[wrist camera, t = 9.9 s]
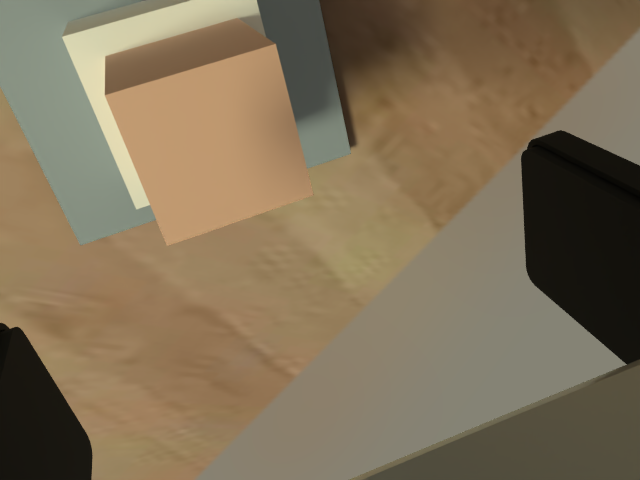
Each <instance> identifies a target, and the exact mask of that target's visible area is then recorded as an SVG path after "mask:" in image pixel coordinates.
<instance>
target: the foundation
mask: <svg viewBox="0 0 640 480" xmlns="http://www.w3.org/2000/svg"><path fill="white" fill-rule="evenodd" d="M235 18H238V19H240V20H241V21H243V22H244V23H246V24H247V25H249V26H250V27H252V28H253V29H254V30H256V31H257V32H259V33H260V34H262V35H263V36H265V37H266V38H268V39H269V40H271V41H272V42H274V43H275V44H276V47H277V51H278V55H279V59H280V63H281V67H282V71H283V75H284V79H285V83H286V87H287V91H288V95H289V99H290V103H291V107H292V111H293V115H294V118H295V122H296V126H297V130H298V134H299V138H300V142H301V146H302V150H303V154H304V158H305V162H306V166H307V168H310V167H313V166H316V165H319V164H322V163H325V162H328V161H331V160H334V159H337V158H340V157H343V156H346V155H349V154H351V151H350V147H349V142H348V137H347V132H346V127H345V123H344V118H343V113H342V108H341V103H340V98H339V94H338V89H337V84H336V79H335V74H334V69H333V65H332V60H331V55H330V50H329V45H328V40H327V36H326V31H325V26H324V21H323V16H322V11H321V7H320V2H319V0H0V87H1V89H2V91H3V93H4V95H5V97H6V99H7V101H8V103H9V105H10V107H11V109H12V111H13V113H14V115H15V117H16V118H17V120H18V122H19V124H20V126H21V128H22V130H23V132H24V134H25V136H26V138H27V140H28V142H29V144H30V146H31V148H32V150H33V152H34V154H35V156H36V158H37V160H38V162H39V164H40V166H41V168H42V170H43V172H44V174H45V176H46V178H47V180H48V182H49V184H50V186H51V188H52V190H53V192H54V194H55V196H56V198H57V200H58V202H59V204H60V206H61V208H62V210H63V212H64V214H65V216H66V218H67V220H68V222H69V224H70V226H71V227H72V229H73V231H74V233H75V235H76V237H77V239H78V241H79V243H80V245H83V244H86V243H89V242H92V241H95V240H98V239H101V238H104V237H107V236H110V235H113V234H116V233H119V232H121V231H124V230H127V229H130V228H133V227H136V226H139V225H142V224H145V223H148V222H151V221H154V220H156V218H155V215H154V213H153V211H152V208H151V206H150V203H149V201H148V198H147V196H146V194H145V191H144V189H143V186H142V184H141V182H140V179H139V177H138V174H137V172H136V170H135V167H134V165H133V162H132V160H131V158H130V155H129V153H128V150H127V148H126V145H125V143H124V141H123V138H122V136H121V133H120V131H119V129H118V126H117V124H116V121H115V119H114V117H113V114H112V112H111V109H110V107H109V105H108V102H107V100H106V97H105V56H108V55H111V54H115V53H118V52H122V51H125V50H128V49H132V48H135V47H139V46H142V45H146V44H149V43H153V42H156V41H159V40H163V39H166V38H170V37H173V36H177V35H180V34H184V33H187V32H190V31H194V30H197V29H201V28H204V27H208V26H211V25H215V24H218V23H222V22H225V21H228V20H232V19H235Z"/></svg>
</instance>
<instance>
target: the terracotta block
mask: <svg viewBox="0 0 640 480" xmlns="http://www.w3.org/2000/svg"><path fill="white" fill-rule="evenodd" d="M105 97H106V100H107V102H108V105H109V107H110V109H111V112H112V114H113V117H114V119H115V121H116V124H117V126H118V129H119V131H120V133H121V136H122V138H123V141H124V143H125V145H126V148H127V150H128V153H129V155H130V158H131V160H132V162H133V165H134V167H135V170H136V172H137V174H138V177H139V179H140V182H141V184H142V186H143V189H144V191H145V194H146V196H147V198H148V201H149V203H150V206H151V208H152V211H153V213H154V215H155V218H156V220H157V223H158V225H159V227H160V230H161V232H162V235H163V237H164V239H165V242H166V244H167V246H169V245H172V244H174V243H177V242H180V241H183V240H186V239H189V238H192V237H195V236H198V235H200V234H203V233H206V232H209V231H212V230H215V229H218V228H221V227H223V226H226V225H229V224H232V223H235V222H238V221H241V220H244V219H247V218H249V217H252V216H255V215H258V214H261V213H264V212H267V211H270V210H273V209H275V208H278V207H281V206H284V205H287V204H290V203H293V202H296V201H298V200H301V199H304V198H307V197H310V196H313V195H314V194H313V190H312V186H311V182H310V178H309V174H308V170H307V166H306V162H305V158H304V154H303V150H302V146H301V142H300V138H299V134H298V130H297V126H296V122H295V118H294V115H293V111H292V107H291V103H290V99H289V95H288V91H287V87H286V83H285V79H284V75H283V71H282V67H281V63H280V59H279V55H278V51H277V47H276V44H275V43H274V42H272V41H271V40H269V39H268V38H266V37H265V36H263V35H262V34H260V33H259V32H257V31H256V30H254V29H253V28H252V27H250V26H249V25H247V24H246V23H244V22H243V21H241V20H240V19H238V18H235V19H232V20H228V21H225V22H222V23H218V24H215V25H211V26H208V27H204V28H201V29H197V30H194V31H190V32H187V33H184V34H180V35H177V36H173V37H170V38H166V39H163V40H159V41H156V42H153V43H149V44H146V45H142V46H139V47H135V48H132V49H128V50H125V51H122V52H118V53H115V54H111V55H108V56H105Z"/></svg>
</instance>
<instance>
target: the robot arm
mask: <svg viewBox="0 0 640 480" xmlns="http://www.w3.org/2000/svg"><path fill="white" fill-rule="evenodd" d="M521 165H522V187H523V209H524V231H525V252H526V269H527V273H528V276H529V278H530V280H531V281H532V283H534V285H535V286H536V287H537V288H539V289H540V290H541V291H542V292H543V293H544V294H546V295H547V296H548V297H549V298H550V299H551V300H553V301H554V302H555V303H556V304H557V305H559V307H561V308H562V309H563V310H565V312H566V313H568V314H569V315H570V316H571V317H572V318H574V319H575V320H576V321H577V322H578V323H579V324H581V325H582V326H583V327H584V328H585V329H586V330H587V331H589V332H590V333H591V334H592V335H593V336H594V337H596V338H597V339H598V340H599V341H600V342H601V343H602V344H604V345H605V346H606V347H607V348H608V349H609V350H611V351H612V352H613V353H614V354H615V355H617V356H618V357H619V358H620V359H621V360H622V361H623V362H625V363H626V364H627V365H625V366H622V367H620V368H617V369H615V370H613V371H610V372H608V373H606V374H603V375H601V376H598V377H596V378H593V379H591V380H588V381H586V382H583V383H581V384H579V385H576V386H574V387H571V388H569V389H566V390H564V391H562V392H559V393H557V394H554V395H552V396H549V397H547V398H544V399H542V400H539V401H537V402H535V403H533V404H530V405H527V406H525V407H522V408H520V409H518V410H515V411H513V412H510V413H508V414H506V415H503V416H501V417H498V418H496V419H494V420H491V421H489V422H486V423H484V424H482V425H479V426H477V427H474V428H472V429H470V430H467V431H465V432H462V433H460V434H458V435H455V436H453V437H450V438H448V439H446V440H443V441H441V442H438V443H436V444H433V445H431V446H429V447H426V448H424V449H421V450H419V451H417V452H414V453H412V454H410V455H407V456H405V457H403V458H400V459H398V460H395V461H393V462H390V463H388V464H386V465H383V466H381V467H378V468H376V469H374V470H371V471H369V472H366V473H364V474H362V475H359V476H357V477H354V478H352V479H350V480H640V166H639V165H637V164H635V163H633V162H631V161H628V160H626V159H624V158H622V157H619V156H617V155H615V154H613V153H611V152H609V151H607V150H604V149H602V148H600V147H598V146H596V145H594V144H591V143H589V142H587V141H585V140H583V139H580V138H578V137H576V136H574V135H572V134H570V133H567V132H565V131H561V130H560V131H556V132H554V133H551V134H548V135H545V136H542V137H539V138H536V139H533V140H531V141H530V142H529V144H528V147H527V150H525V151H524V152H523V153H522V156H521ZM91 474H92V448H91V444H90V440H89V438H88V436H87V434H86V432H85V430H84V429H83V427H82V426H81V424H80V422H79V421H78V419H77V417H76V416H75V414H74V413H73V411H72V409H71V408H70V406H69V405H68V403H67V401H66V400H65V398H64V396H63V395H62V393H61V392H60V390H59V388H58V387H57V385H56V384H55V382H54V380H53V379H52V377H51V376H50V374H49V372H48V371H47V369H46V367H45V366H44V364H43V363H42V361H41V359H40V358H39V356H38V355H37V353H36V351H35V350H34V348H33V346H32V345H31V343H30V342H29V340H28V338H27V337H26V335H25V334H24V332H23V331H22V330H21V329H20V328H19V327H14V328H11V329H9V327H7V326H6V325H5V324H3V323H0V480H91Z"/></svg>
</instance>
